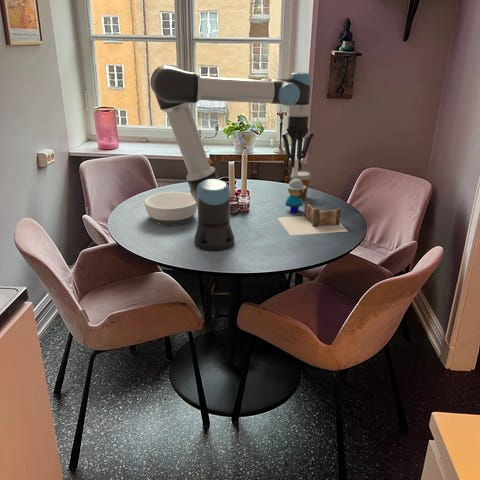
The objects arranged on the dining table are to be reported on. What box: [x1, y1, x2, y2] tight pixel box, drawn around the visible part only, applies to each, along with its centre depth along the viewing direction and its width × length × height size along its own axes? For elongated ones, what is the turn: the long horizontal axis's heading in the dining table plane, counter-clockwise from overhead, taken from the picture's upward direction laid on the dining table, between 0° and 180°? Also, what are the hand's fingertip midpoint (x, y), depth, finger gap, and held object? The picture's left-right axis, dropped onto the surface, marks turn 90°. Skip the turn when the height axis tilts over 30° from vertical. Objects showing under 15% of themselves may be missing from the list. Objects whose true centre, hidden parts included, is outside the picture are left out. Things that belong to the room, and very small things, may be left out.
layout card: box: [277, 215, 348, 237], centre depth 200 cm, size 24×20×1 cm
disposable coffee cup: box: [290, 170, 312, 200], centre depth 232 cm, size 10×10×12 cm
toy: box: [284, 179, 306, 214], centre depth 213 cm, size 8×9×15 cm
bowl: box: [144, 191, 198, 226], centre depth 206 cm, size 22×22×8 cm
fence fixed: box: [312, 207, 342, 227], centre depth 198 cm, size 12×2×7 cm, turn 101°
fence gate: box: [303, 200, 314, 223], centre depth 203 cm, size 10×2×6 cm, turn 13°
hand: (294, 175), depth 195 cm, fingers closed
